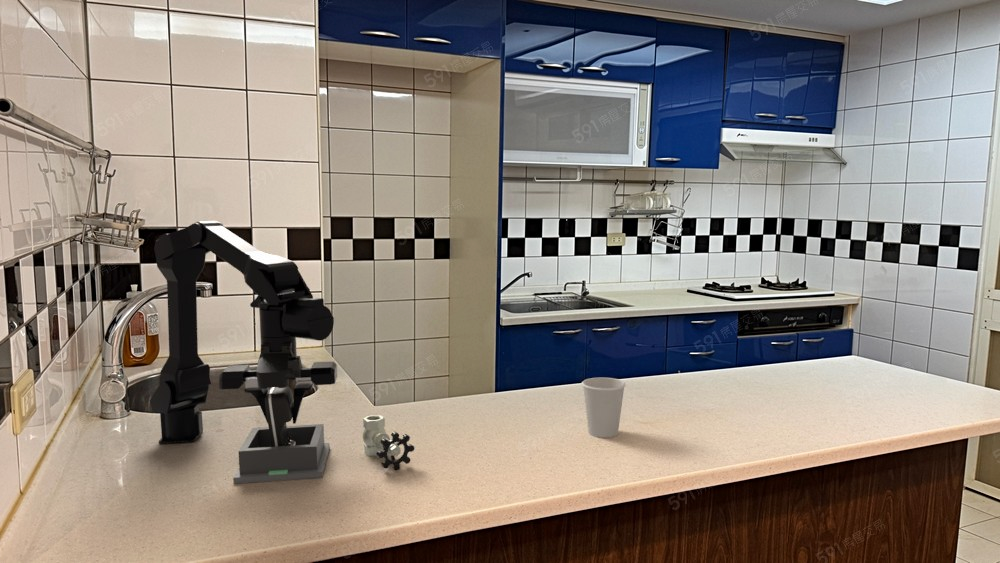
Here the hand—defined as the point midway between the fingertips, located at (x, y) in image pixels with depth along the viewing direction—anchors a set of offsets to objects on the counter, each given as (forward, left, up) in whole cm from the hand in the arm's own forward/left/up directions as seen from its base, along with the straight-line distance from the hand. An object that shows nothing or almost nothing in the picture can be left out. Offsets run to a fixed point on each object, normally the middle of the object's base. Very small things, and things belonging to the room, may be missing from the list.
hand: (282, 423), depth 121 cm
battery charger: (+1, 0, -5) cm, 5 cm away
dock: (0, 0, -7) cm, 7 cm away
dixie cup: (+59, +6, -8) cm, 60 cm away
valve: (+17, 0, -8) cm, 19 cm away
